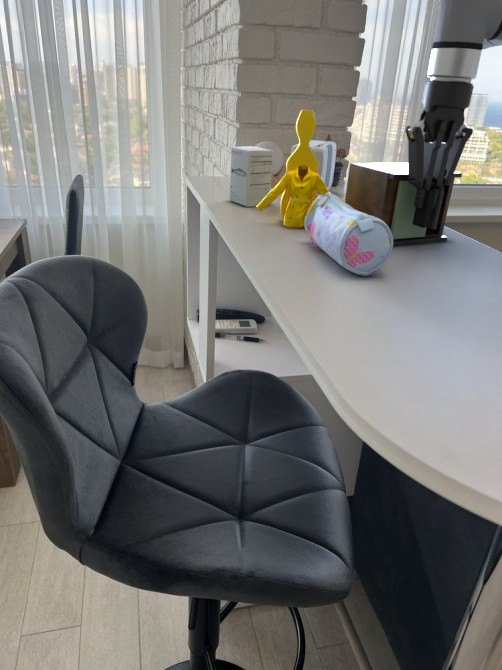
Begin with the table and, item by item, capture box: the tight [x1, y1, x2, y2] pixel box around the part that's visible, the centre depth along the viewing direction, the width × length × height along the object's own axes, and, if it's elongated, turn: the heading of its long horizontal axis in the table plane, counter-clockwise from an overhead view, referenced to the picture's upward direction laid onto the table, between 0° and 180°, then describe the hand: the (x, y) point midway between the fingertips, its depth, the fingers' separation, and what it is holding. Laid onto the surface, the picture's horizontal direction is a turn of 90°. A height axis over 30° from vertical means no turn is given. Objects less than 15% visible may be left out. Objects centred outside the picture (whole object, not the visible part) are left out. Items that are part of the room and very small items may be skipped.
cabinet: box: [344, 162, 463, 247], centre depth 99 cm, size 14×16×13 cm
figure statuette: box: [255, 109, 331, 229], centre depth 101 cm, size 18×8×22 cm, turn 89°
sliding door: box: [391, 180, 444, 239], centre depth 92 cm, size 4×8×11 cm, turn 114°
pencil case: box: [304, 191, 394, 277], centre depth 84 cm, size 21×9×10 cm, turn 10°
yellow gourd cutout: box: [290, 112, 337, 198], centre depth 131 cm, size 21×8×20 cm, turn 162°
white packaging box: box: [228, 145, 275, 208], centre depth 120 cm, size 7×7×13 cm
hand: (420, 225), depth 92 cm, fingers closed
